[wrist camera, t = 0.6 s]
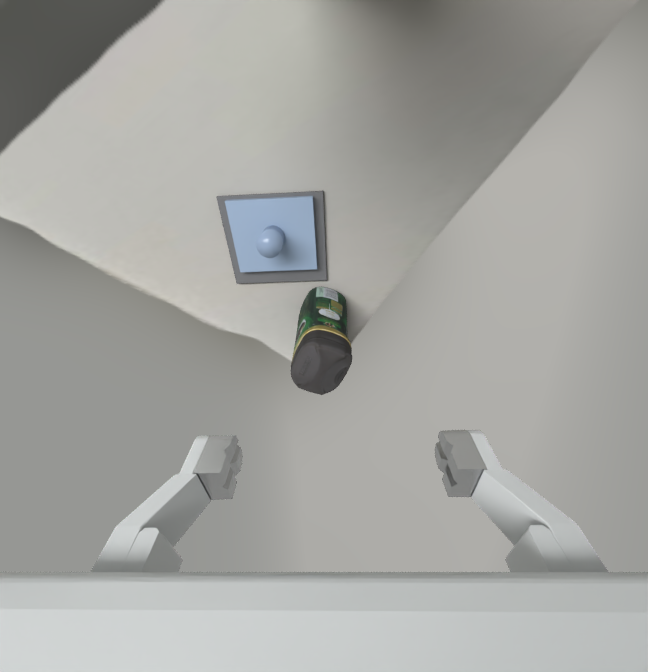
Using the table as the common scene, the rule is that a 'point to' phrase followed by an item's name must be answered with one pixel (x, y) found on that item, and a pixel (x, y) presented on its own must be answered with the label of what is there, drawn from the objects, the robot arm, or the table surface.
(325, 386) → the coffee jar
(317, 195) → the mat
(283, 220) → the lid
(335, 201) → the table surface
